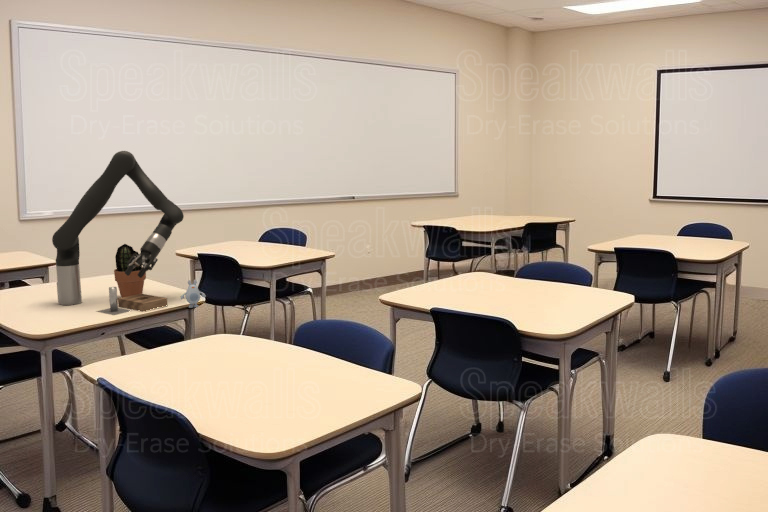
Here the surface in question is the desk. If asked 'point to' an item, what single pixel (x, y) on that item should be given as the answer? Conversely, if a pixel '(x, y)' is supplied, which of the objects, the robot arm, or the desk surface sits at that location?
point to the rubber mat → (120, 310)
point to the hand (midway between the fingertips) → (132, 275)
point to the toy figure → (192, 294)
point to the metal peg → (113, 299)
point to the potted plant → (133, 281)
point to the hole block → (142, 302)
